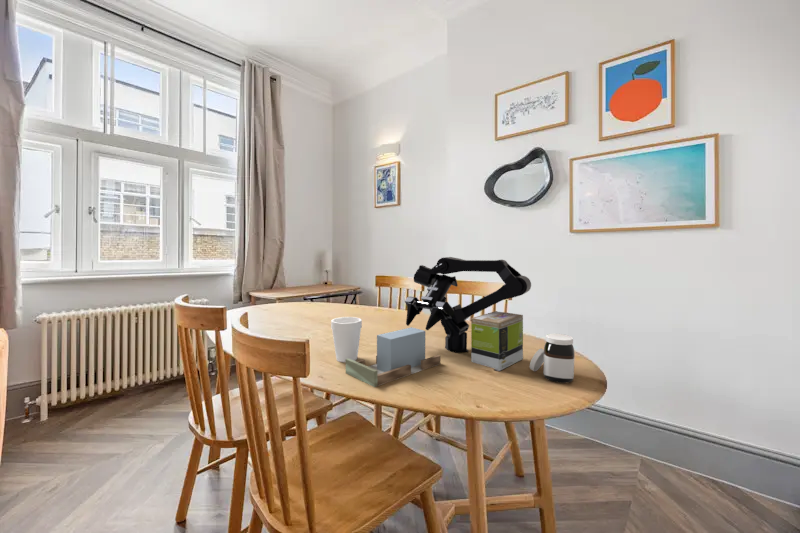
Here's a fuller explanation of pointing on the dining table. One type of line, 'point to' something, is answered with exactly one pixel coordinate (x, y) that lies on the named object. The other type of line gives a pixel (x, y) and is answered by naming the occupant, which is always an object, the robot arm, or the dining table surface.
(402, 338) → the slate box
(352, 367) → the lane
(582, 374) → the dining table surface
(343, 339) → the foam cup
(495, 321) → the tea box
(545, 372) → the spread jar
